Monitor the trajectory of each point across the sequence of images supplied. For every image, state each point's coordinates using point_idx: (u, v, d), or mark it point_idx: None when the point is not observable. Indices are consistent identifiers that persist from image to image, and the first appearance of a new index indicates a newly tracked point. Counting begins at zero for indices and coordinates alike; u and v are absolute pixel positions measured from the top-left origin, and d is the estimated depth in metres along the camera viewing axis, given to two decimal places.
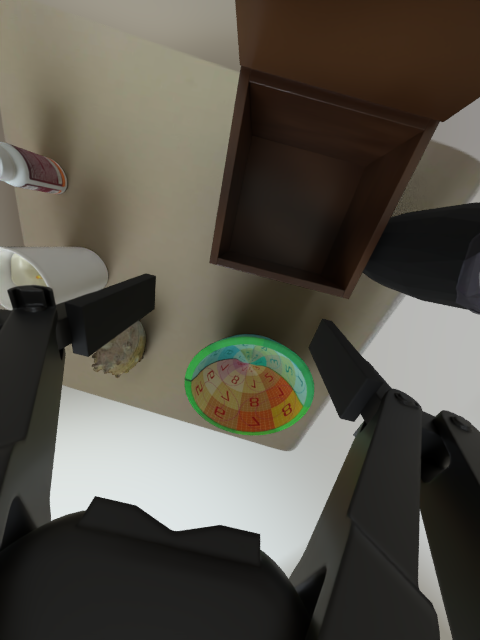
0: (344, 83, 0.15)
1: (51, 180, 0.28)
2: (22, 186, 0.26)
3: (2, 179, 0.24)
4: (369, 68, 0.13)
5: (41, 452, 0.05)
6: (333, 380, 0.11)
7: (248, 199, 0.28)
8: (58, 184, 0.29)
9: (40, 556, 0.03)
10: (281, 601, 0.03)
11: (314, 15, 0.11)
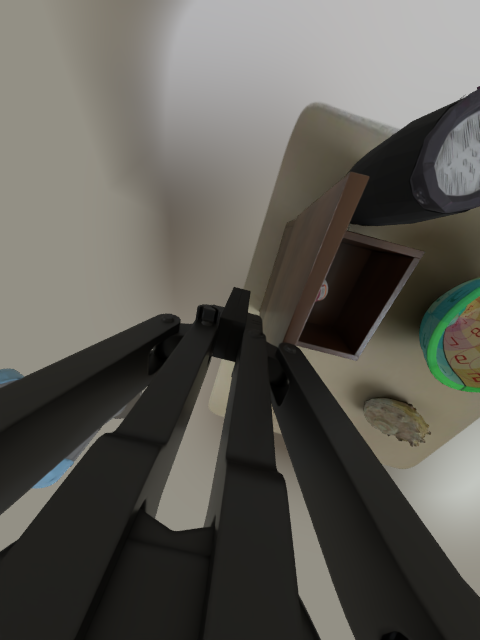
0: None
1: None
2: None
3: None
4: None
5: (171, 452, 0.05)
6: None
7: None
8: None
9: (40, 556, 0.03)
10: (178, 595, 0.03)
11: None
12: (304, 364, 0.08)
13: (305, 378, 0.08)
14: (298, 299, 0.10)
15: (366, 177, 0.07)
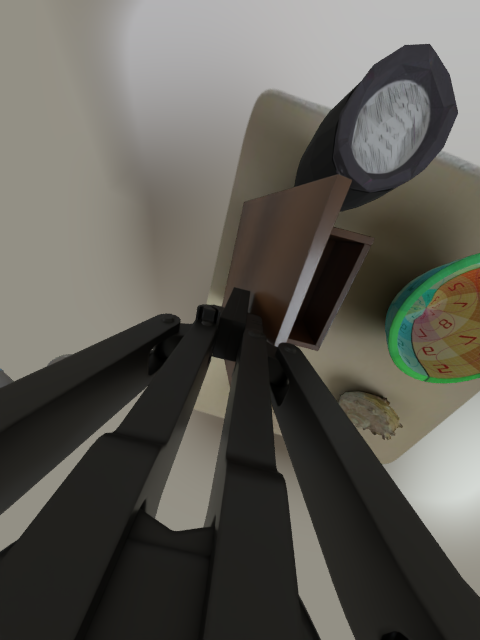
0: None
1: None
2: None
3: None
4: None
5: (171, 452, 0.05)
6: None
7: None
8: None
9: (40, 556, 0.03)
10: (178, 595, 0.03)
11: None
12: (304, 364, 0.08)
13: (305, 378, 0.08)
14: (290, 294, 0.10)
15: (350, 180, 0.08)
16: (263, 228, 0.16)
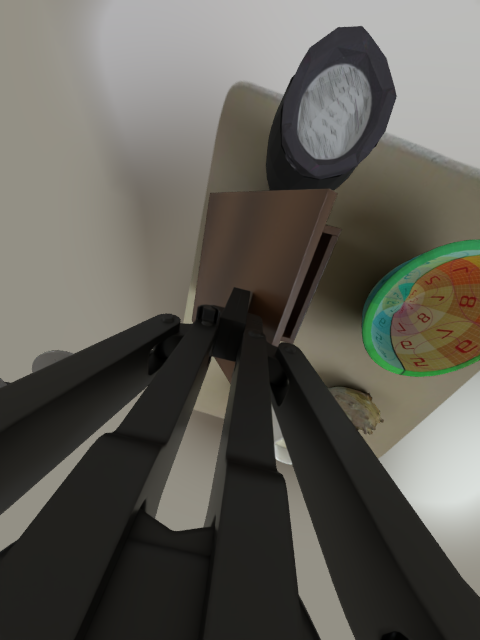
0: None
1: None
2: None
3: None
4: None
5: (171, 452, 0.05)
6: None
7: None
8: None
9: (40, 556, 0.03)
10: (178, 595, 0.03)
11: None
12: (304, 364, 0.08)
13: (305, 378, 0.08)
14: (291, 285, 0.13)
15: (336, 194, 0.10)
16: (245, 223, 0.17)
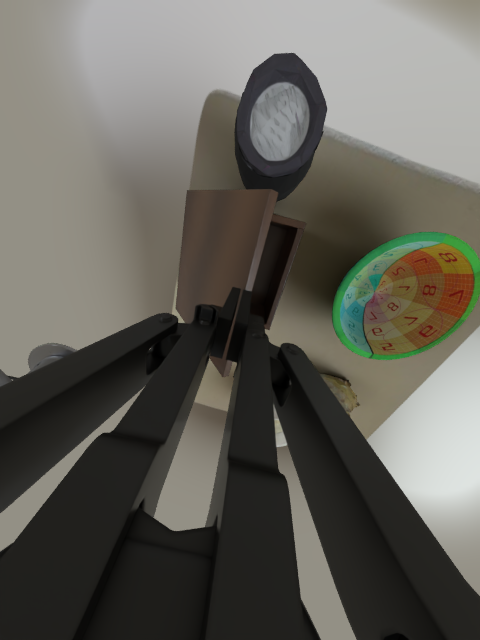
0: None
1: None
2: None
3: None
4: None
5: (169, 452, 0.05)
6: None
7: None
8: None
9: (40, 556, 0.03)
10: (179, 594, 0.03)
11: None
12: (307, 365, 0.08)
13: (307, 379, 0.08)
14: (249, 266, 0.16)
15: (277, 193, 0.14)
16: (215, 217, 0.20)
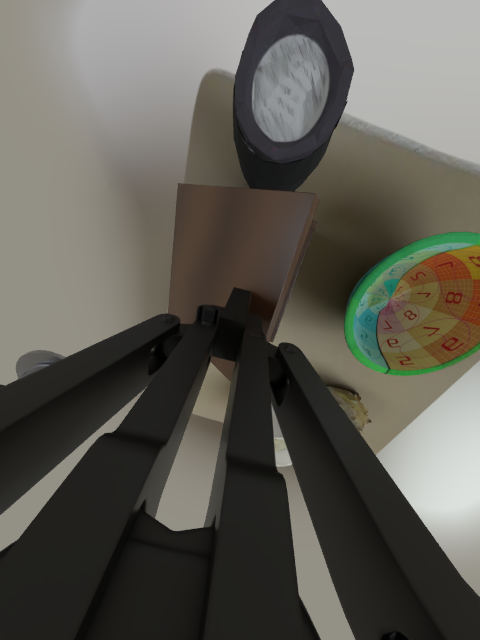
0: None
1: None
2: None
3: None
4: None
5: (171, 452, 0.05)
6: None
7: None
8: None
9: (40, 556, 0.03)
10: (178, 595, 0.03)
11: None
12: (305, 364, 0.08)
13: (305, 378, 0.08)
14: (283, 279, 0.14)
15: None
16: (227, 219, 0.17)
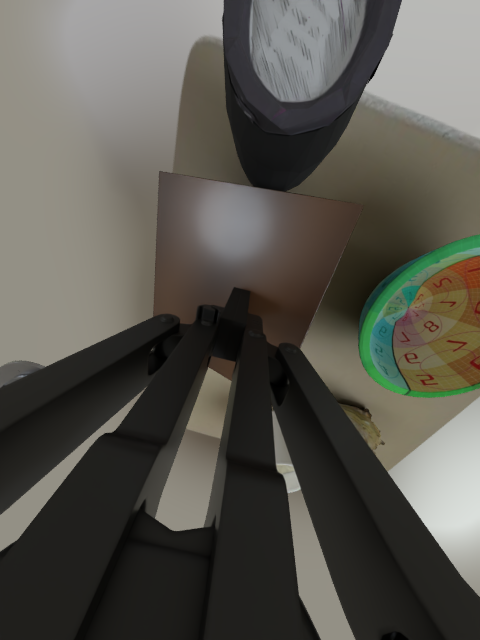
0: None
1: None
2: None
3: None
4: None
5: (171, 452, 0.05)
6: None
7: None
8: None
9: (40, 556, 0.03)
10: (178, 595, 0.03)
11: None
12: (305, 364, 0.08)
13: (305, 378, 0.08)
14: (322, 290, 0.14)
15: None
16: (243, 223, 0.15)
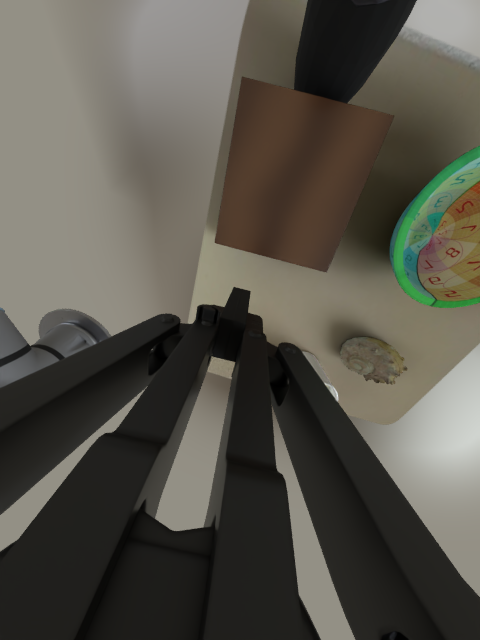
0: None
1: None
2: None
3: None
4: None
5: (171, 452, 0.05)
6: None
7: None
8: None
9: (40, 556, 0.03)
10: (178, 594, 0.03)
11: None
12: (304, 364, 0.08)
13: (305, 378, 0.08)
14: (367, 174, 0.23)
15: None
16: (318, 127, 0.22)
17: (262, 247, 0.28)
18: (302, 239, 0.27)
